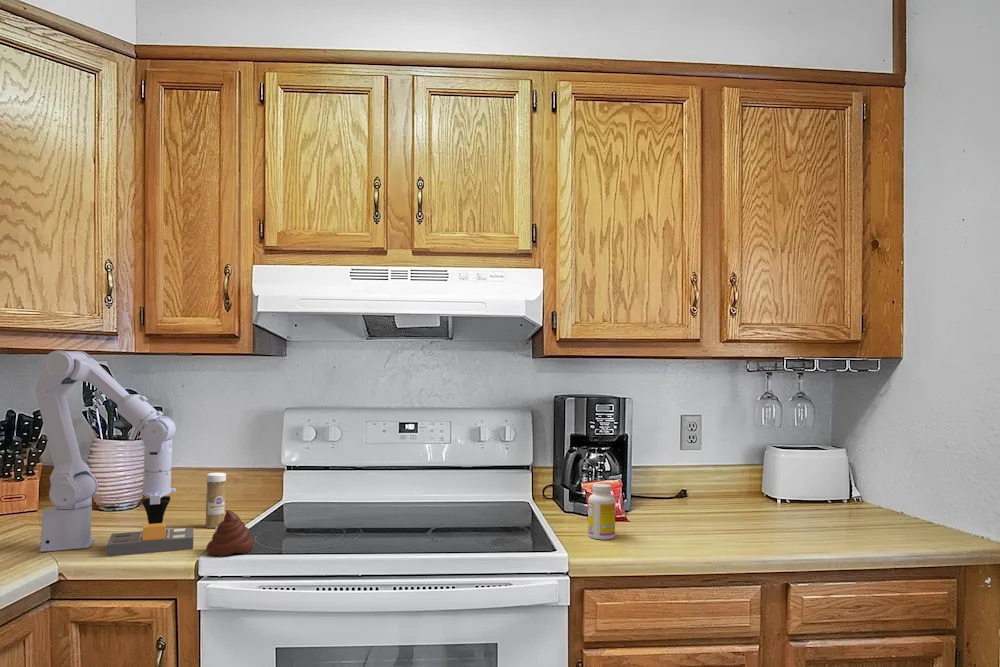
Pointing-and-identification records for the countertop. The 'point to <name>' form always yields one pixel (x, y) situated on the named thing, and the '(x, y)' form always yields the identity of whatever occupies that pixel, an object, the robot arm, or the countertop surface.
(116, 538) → the grey block
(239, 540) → the poop emoji
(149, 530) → the block
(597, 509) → the supplement bottle
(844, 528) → the countertop surface
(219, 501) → the sprinkles bottle
